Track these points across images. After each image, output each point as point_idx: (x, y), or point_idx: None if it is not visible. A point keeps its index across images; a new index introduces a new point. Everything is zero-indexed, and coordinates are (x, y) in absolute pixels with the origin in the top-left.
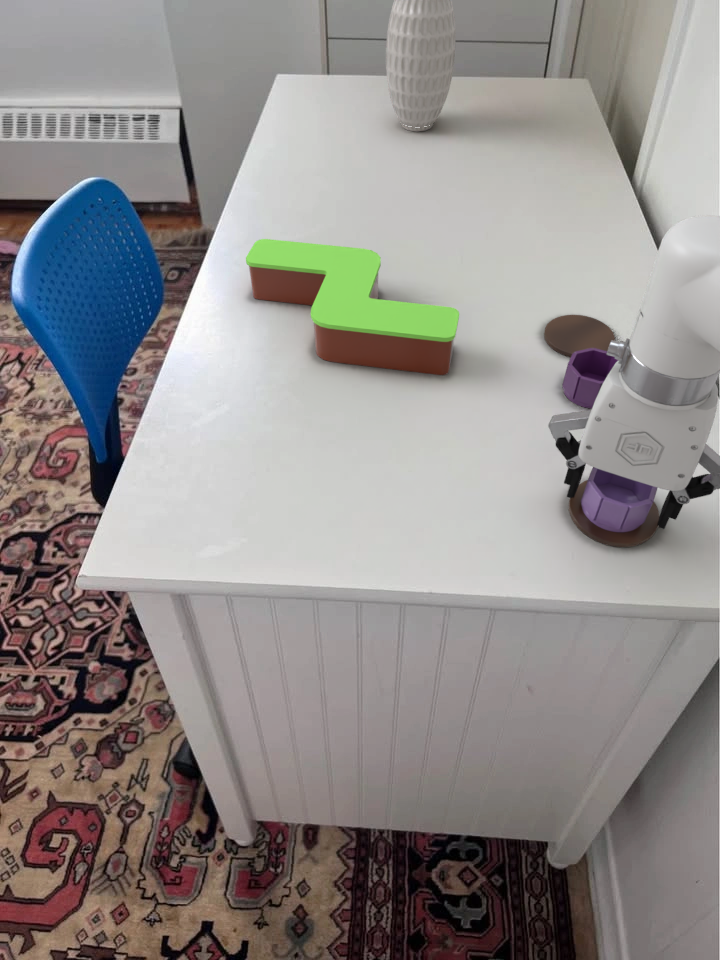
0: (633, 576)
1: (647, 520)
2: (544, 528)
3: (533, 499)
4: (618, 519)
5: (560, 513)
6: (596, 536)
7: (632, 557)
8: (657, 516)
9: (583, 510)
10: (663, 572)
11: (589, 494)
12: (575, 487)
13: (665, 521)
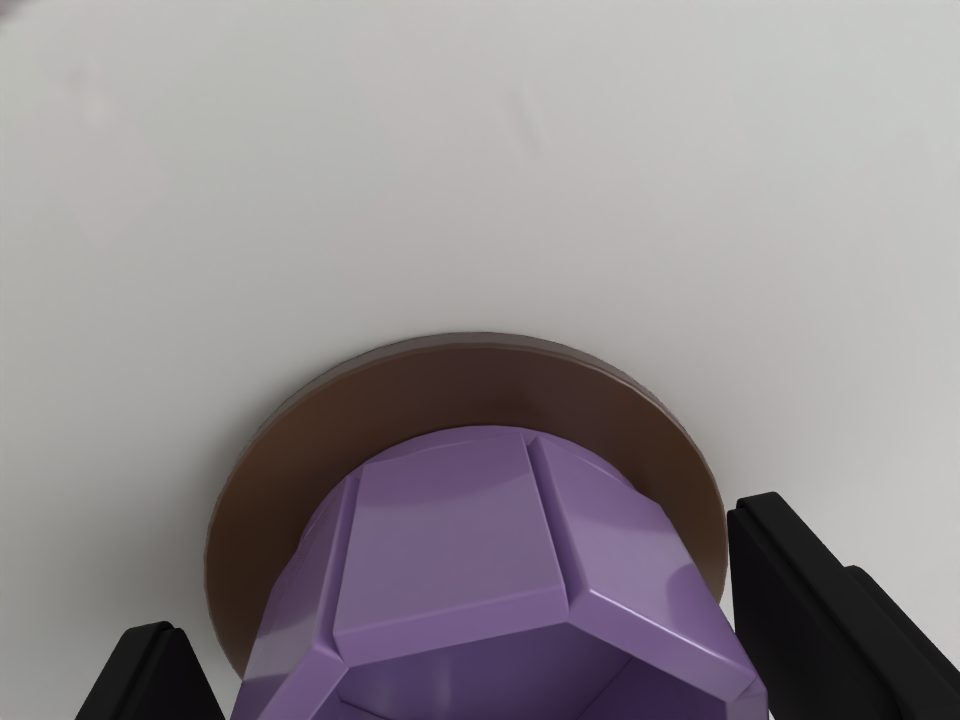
0: (122, 223)
1: None
2: (770, 223)
3: (902, 386)
4: (385, 514)
5: (723, 390)
6: (463, 347)
7: (214, 357)
8: None
9: (621, 475)
10: (7, 369)
11: (674, 578)
12: (791, 574)
13: (106, 685)
